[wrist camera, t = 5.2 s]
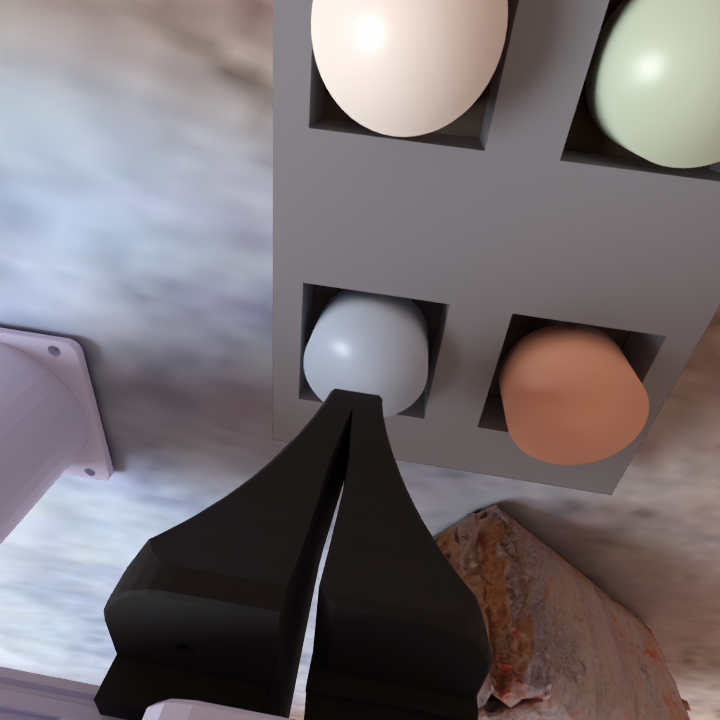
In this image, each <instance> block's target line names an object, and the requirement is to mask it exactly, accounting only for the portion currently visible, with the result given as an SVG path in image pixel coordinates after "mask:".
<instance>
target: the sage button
mask: <svg viewBox="0 0 720 720" xmlns="http://www.w3.org/2000/svg"><path fill="white" fill-rule="evenodd" d="M586 98H587V104H588V108H589V111H590V114H591V116H592V118H593V121H594V122H595V124H596V125H597V127H598V128H599V130H600V131H601V132H602V133H603V134H604V135H605V136H606V137H607V138H609V139H610V140H611V141H613V142H614V143H616V144H618V145H620V146H622V147H623V148H625V149H627V150H629V151H631V152H633V153H635V154H637V155H639V156H641V157H643V158H645V159H647V160H648V161H650V162H653V163H656V164H659V165H662V166H667V167H672V168H693V167H700V166H706V165H710V164H713V163H716V162H720V0H623V1H622V2H621V3H620V4H619V5H618V7H617V8H616V9H615V10H614V12H613V13H612V14H611V16H610V17H609V18H608V20H607V21H606V23H605V25H604V26H603V28H602V30H601V31H600V33H599V35H598V39H597V42H596V45H595V48H594V52H593V55H592V58H591V61H590V65H589V68H588V71H587V74H586Z"/></svg>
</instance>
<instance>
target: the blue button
mask: <svg viewBox="0 0 720 720" xmlns="http://www.w3.org/2000/svg"><path fill="white" fill-rule="evenodd" d="M428 341H429V336H428V327H427V323H426V320H425V317H424V315H423V313H422V312H421V310H420V309H419V307H418V306H417V305H416V304H415V303H414V302H413V301H412V300H411V299H410V298H404V297H397V296H390V295H383V294H377V293H370V292H363V291H356V290H349V289H345V290H343V291H341V292H339V293H338V294H336V295H335V296H334V297H332V298H331V299H330V300H329V301H328V303H327V304H326V305H325V307H324V308H323V310H322V312H321V314H320V316H319V318H318V321H317V323H316V325H315V328H314V330H313V332H312V335H311V337H310V340H309V342H308V344H307V347H306V350H305V353H304V360H303V361H304V371H305V376H306V378H307V381H308V383H309V385H310V387H311V388H312V390H313V391H314V393H315V394H316V395H317V396H318V397H319V398H320V399H321V400H322V401H323V402H324V401H325V400H326V398H327V397H328V395H329V393H330V392H331V391H332V390H334V389H335V388H336V389H342V390H348V391H355V392H361V393H367V394H374V395H379V396H380V397H381V398H382V399H383V401H382V406H383V416H384V417H389V416H392V415H395V414H397V413H399V412H402V411H403V410H405V409H407V408H408V407H409V406H411V405H412V404H413V403H414V402H415V401H416V400H417V399H418V398H419V396H420V395H421V393H422V392H423V390H424V387H425V385H426V382H427V376H428Z"/></svg>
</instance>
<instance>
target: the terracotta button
mask: <svg viewBox="0 0 720 720" xmlns="http://www.w3.org/2000/svg"><path fill="white" fill-rule="evenodd" d="M499 387H500V392H501V397H502V402H503V407H504V412H505V417H506V422H507V427H508V431H509V434H510V436H511V438H512V439H513V441H514V442H515V444H516V445H517V446H518V447H519V448H520V449H521V450H522V451H524V452H525V453H526V454H528V455H530V456H531V457H533V458H536V459H538V460H540V461H544V462H547V463H551V464H558V465H581V464H587V463H592V462H596V461H599V460H602V459H605V458H607V457H609V456H612V455H614V454H616V453H617V452H619V451H621V450H622V449H624V448H625V447H626V446H628V445H629V444H630V443H631V442H632V441H633V440H634V439H635V438H636V437H637V436H638V435H639V433H640V432H641V430H642V429H643V427H644V425H645V423H646V421H647V417H648V414H649V399H648V396H647V392H646V390H645V388H644V386H643V385H642V383H641V382H640V380H639V378H638V377H637V375H636V374H635V372H634V370H633V369H632V367H631V366H630V364H629V362H628V361H627V359H626V357H625V356H624V354H623V353H622V351H621V349H620V348H619V346H618V345H617V344H616V342H615V341H614V340H613V339H612V338H611V337H610V336H609V335H607V334H606V333H604V332H603V331H601V330H599V329H597V328H594V327H591V326H588V325H583V324H575V323H563V324H555V325H551V326H546V327H543V328H541V329H538V330H536V331H534V332H532V333H530V334H528V335H526V336H525V337H523V338H522V339H521V340H519V341H518V342H517V343H516V344H515V345H514V346H513V347H512V348H511V349H510V350H509V351H508V353H507V354H506V356H505V358H504V359H503V361H502V364H501V366H500V371H499Z"/></svg>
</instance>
